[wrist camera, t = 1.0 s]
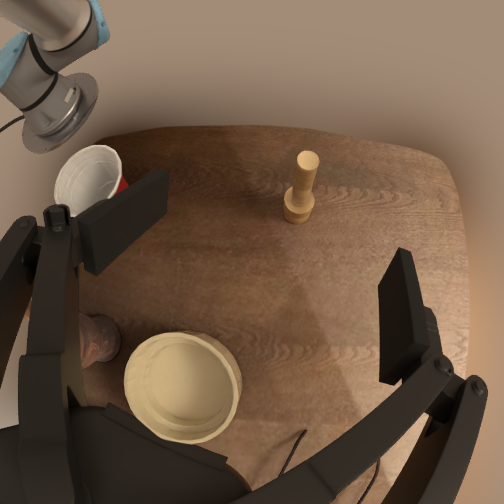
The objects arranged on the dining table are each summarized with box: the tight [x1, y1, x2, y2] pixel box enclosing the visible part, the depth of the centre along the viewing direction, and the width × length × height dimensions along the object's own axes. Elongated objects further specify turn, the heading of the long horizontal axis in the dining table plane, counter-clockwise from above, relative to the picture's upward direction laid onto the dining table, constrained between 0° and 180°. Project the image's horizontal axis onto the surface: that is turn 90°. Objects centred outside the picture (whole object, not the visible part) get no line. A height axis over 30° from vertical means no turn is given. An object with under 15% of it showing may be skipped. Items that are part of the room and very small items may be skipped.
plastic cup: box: [54, 145, 128, 217], centre depth 41 cm, size 11×11×12 cm
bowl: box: [124, 330, 242, 444], centre depth 38 cm, size 15×15×6 cm
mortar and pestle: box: [24, 300, 121, 369], centre depth 33 cm, size 12×9×20 cm
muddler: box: [283, 151, 319, 224], centre depth 37 cm, size 4×4×16 cm
